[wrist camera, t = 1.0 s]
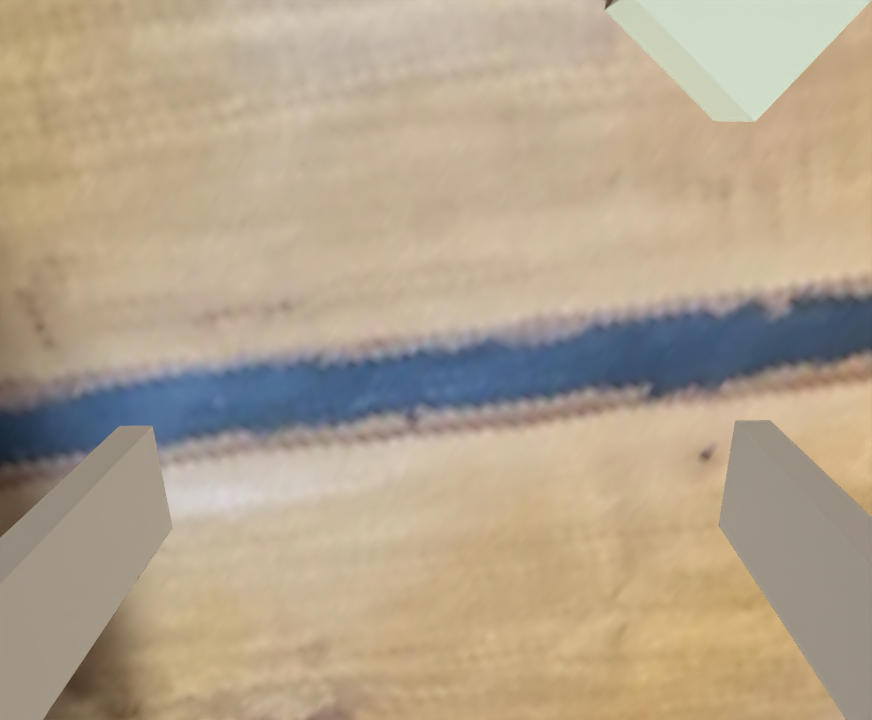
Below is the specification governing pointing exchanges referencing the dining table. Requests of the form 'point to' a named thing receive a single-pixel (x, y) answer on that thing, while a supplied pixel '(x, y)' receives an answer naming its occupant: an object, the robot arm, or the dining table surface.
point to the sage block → (734, 45)
